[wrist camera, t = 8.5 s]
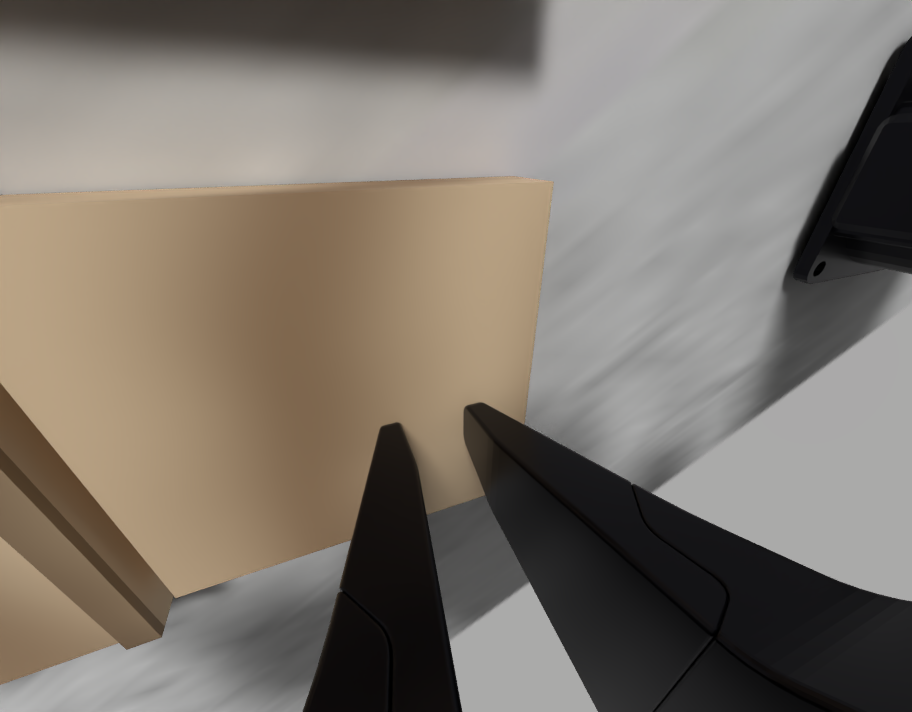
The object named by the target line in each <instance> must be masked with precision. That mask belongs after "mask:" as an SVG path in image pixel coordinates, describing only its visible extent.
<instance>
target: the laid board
mask: <svg viewBox="0 0 912 712" xmlns="http://www.w3.org/2000/svg"><path fill="white" fill-rule="evenodd" d="M173 596H174V595H173V594H172V593H171V592H170V591H169V589H168V588H167V587H166V586H165V584H164V583H163V582H162V581H161V580H160V578H159V577H158V576H157V575H156V573H155V572H154V571H153V570H152V568H151V567H150V566H149V565H148V564H147V562H146V561H145V560H144V559H143V557H142V556H141V555H140V554H139V552H138V551H137V550H136V549H135V548H134V546H133V545H132V544H131V543H130V541H129V540H128V539H127V538H126V537H125V535H124V534H123V533H122V532H121V530H120V529H119V528H118V527H117V525H116V524H115V523H114V522H113V521H112V519H111V518H110V517H109V516H108V514H107V513H106V512H105V511H104V509H103V508H102V507H101V506H100V505H99V503H98V502H97V501H96V500H95V498H94V497H93V496H92V495H91V494H90V492H89V491H88V490H87V489H86V487H85V486H84V485H83V484H82V482H81V481H80V480H79V479H78V478H77V476H76V475H75V474H74V473H73V471H72V470H71V469H70V468H69V466H68V465H67V464H66V463H65V462H64V460H63V459H62V458H61V457H60V455H59V454H58V453H57V452H56V451H55V449H54V448H53V447H52V446H51V444H50V443H49V442H48V441H47V439H46V438H45V437H44V436H43V435H42V433H41V432H40V431H39V430H38V428H37V427H36V426H35V425H34V424H33V422H32V421H31V420H30V419H29V417H28V416H27V415H26V414H25V412H24V411H23V410H22V409H21V408H20V406H19V405H18V404H17V403H16V401H15V400H14V399H13V398H12V396H11V395H10V394H9V393H8V392H7V390H6V389H5V388H4V387H3V385H2V384H1V383H0V685H1V684H4V683H7V682H9V681H12V680H15V679H18V678H21V677H24V676H26V675H29V674H32V673H35V672H38V671H41V670H43V669H46V668H49V667H52V666H55V665H58V664H60V663H63V662H66V661H69V660H72V659H75V658H77V657H80V656H83V655H86V654H89V653H92V652H94V651H97V650H100V649H103V648H106V647H109V646H111V645H114V644H117V643H120V644H121V645H122V646H123V647H124V648H125V649H130V648H133V647H136V646H139V645H141V644H144V643H147V642H150V641H152V640H155V639H158V638H161V637H162V635H163V631H164V628H165V624H166V621H167V617H168V613H169V610H170V606H171V603H172V599H173Z"/></svg>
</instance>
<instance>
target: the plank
mask: <svg viewBox="0 0 912 712" xmlns="http://www.w3.org/2000/svg"><path fill="white" fill-rule="evenodd" d="M553 183H554V182H552V181H545V180H537V179H530V178H523V177H515V176H506V177H479V178H451V179H424V180H397V181H370V182H343V183H316V184H288V185H261V186H234V187H207V188H180V189H153V190H125V191H98V192H71V193H44V194H17V195H0V383H1V384H2V385H3V387H4V388H5V389H6V390H7V392H8V393H9V394H10V395H11V396H12V398H13V399H14V400H15V401H16V403H17V404H18V405H19V406H20V408H21V409H22V410H23V411H24V412H25V414H26V415H27V416H28V417H29V419H30V420H31V421H32V422H33V424H34V425H35V426H36V427H37V428H38V430H39V431H40V432H41V433H42V435H43V436H44V437H45V438H46V439H47V441H48V442H49V443H50V444H51V446H52V447H53V448H54V449H55V451H56V452H57V453H58V454H59V455H60V457H61V458H62V459H63V460H64V462H65V463H66V464H67V465H68V466H69V468H70V469H71V470H72V471H73V473H74V474H75V475H76V476H77V478H78V479H79V480H80V481H81V482H82V484H83V485H84V486H85V487H86V489H87V490H88V491H89V492H90V494H91V495H92V496H93V497H94V498H95V500H96V501H97V502H98V503H99V505H100V506H101V507H102V508H103V509H104V511H105V512H106V513H107V514H108V516H109V517H110V518H111V519H112V521H113V522H114V523H115V524H116V525H117V527H118V528H119V529H120V530H121V532H122V533H123V534H124V535H125V537H126V538H127V539H128V540H129V541H130V543H131V544H132V545H133V546H134V548H135V549H136V550H137V551H138V552H139V554H140V555H141V556H142V557H143V559H144V560H145V561H146V562H147V564H148V565H149V566H150V567H151V568H152V570H153V571H154V572H155V573H156V575H157V576H158V577H159V578H160V580H161V581H162V582H163V583H164V584H165V586H166V587H167V588H168V589H169V591H170V592H171V593H172V594H173V595H174V597H175V598H178V597H181V596H184V595H187V594H190V593H193V592H196V591H199V590H202V589H205V588H208V587H211V586H214V585H217V584H220V583H223V582H226V581H229V580H232V579H235V578H238V577H241V576H244V575H247V574H250V573H253V572H256V571H259V570H262V569H265V568H268V567H271V566H274V565H277V564H280V563H283V562H286V561H289V560H292V559H295V558H298V557H301V556H304V555H307V554H310V553H313V552H316V551H319V550H322V549H325V548H328V547H331V546H334V545H337V544H340V543H343V542H346V541H349V540H351V539H352V536H353V532H354V528H355V524H356V520H357V516H358V512H359V508H360V504H361V500H362V496H363V492H364V488H365V484H366V480H367V476H368V473H369V469H370V465H371V461H372V457H373V453H374V449H375V445H376V441H377V437H378V433H379V429H380V427H381V426H383V425H387V424H391V423H395V422H399V423H400V424H401V425H402V428H403V430H404V433H405V435H406V437H407V440H408V442H409V445H410V447H411V450H412V452H413V454H414V457H415V460H416V462H417V466H418V470H419V475H420V481H421V486H422V492H423V497H424V503H425V509H426V514H427V515H428V514H431V513H434V512H437V511H440V510H443V509H446V508H449V507H452V506H455V505H458V504H461V503H464V502H467V501H470V500H473V499H476V498H479V497H482V496H485V493H484V490H483V488H482V485H481V483H480V480H479V478H478V475H477V472H476V470H475V467H474V465H473V462H472V460H471V457H470V455H469V452H468V449H467V447H466V444H465V441H464V435H463V412H464V407H465V406H467V405H470V404H474V403H478V402H483V403H485V404H487V405H489V406H491V407H493V408H495V409H496V410H498V411H500V412H502V413H504V414H506V415H507V416H509V417H511V418H513V419H515V420H517V421H519V422H520V423H522V424H524V422H525V414H526V406H527V398H528V389H529V381H530V373H531V365H532V356H533V348H534V340H535V331H536V323H537V315H538V307H539V298H540V290H541V282H542V274H543V265H544V257H545V249H546V241H547V232H548V224H549V216H550V208H551V199H552V191H553Z"/></svg>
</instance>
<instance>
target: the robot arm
mask: <svg viewBox="0 0 912 712" xmlns="http://www.w3.org/2000/svg"><path fill="white" fill-rule="evenodd" d="M884 269H889V270H894V271H899V272H904V273H909V274H912V37H911V38H910V39H909V40H908V42H907V43H906V45H905V47H904V49H903V50H902V52H901V54H900V56H899V58H898V60H897V62H896V64H895V66H894V68H893V70H892V72H891V75H890V77H889V79H888V81H887V83H886V85H885V87H884V89H883V91H882V93H881V95H880V97H879V99H878V101H877V103H876V105H875V107H874V109H873V111H872V113H871V115H870V117H869V119H868V121H867V123H866V125H865V127H864V129H863V131H862V133H861V136H860V138H859V140H858V142H857V144H856V146H855V148H854V150H853V152H852V154H851V156H850V158H849V160H848V162H847V164H846V166H845V168H844V170H843V172H842V174H841V176H840V178H839V180H838V182H837V184H836V186H835V188H834V190H833V192H832V195H831V197H830V199H829V201H828V203H827V205H826V207H825V209H824V211H823V213H822V215H821V217H820V219H819V221H818V223H817V225H816V227H815V229H814V231H813V233H812V235H811V237H810V239H809V241H808V243H807V245H806V247H805V249H804V251H803V253H802V256H801V258H800V260H799V262H798V264H797V266H796V268H795V271H794V276H793V277H794V279H795V280H798V281H802V282H805V283H810V284H813V283H818V282H823V281H828V280H833V279H838V278H843V277H848V276H853V275H858V274H863V273H869V272H874V271H879V270H884ZM463 435H464V441H465V444H466V447H467V449H468V452H469V455H470V457H471V460H472V462H473V465H474V467H475V470H476V472H477V475H478V478H479V480H480V483H481V485H482V488H483V490H484V493H485V496H486V498H487V500H488V503H489V505H490V507H491V509H492V511H493V513H494V515H495V517H496V519H497V521H498V523H499V525H500V527H501V529H502V530H503V532H504V534H505V536H506V538H507V540H508V542H509V544H510V546H511V548H512V549H513V551H514V553H515V555H516V557H517V559H518V561H519V563H520V565H521V567H522V568H523V570H524V572H525V574H526V576H527V578H528V580H529V582H530V584H531V585H532V587H533V589H534V591H535V593H536V595H537V597H538V599H539V601H540V602H541V604H542V606H543V608H544V610H545V612H546V614H547V616H548V618H549V620H550V621H551V623H552V625H553V627H554V629H555V631H556V633H557V635H558V637H559V638H560V640H561V642H562V644H563V646H564V648H565V650H566V652H567V654H568V656H569V657H570V659H571V661H572V663H573V665H574V667H575V669H576V671H577V673H578V674H579V676H580V678H581V680H582V682H583V684H584V686H585V688H586V690H587V692H588V694H589V695H590V697H591V699H592V701H593V703H594V705H595V707H596V709H597V711H598V712H912V601H906V600H900V599H896V598H892V597H888V596H884V595H879V594H876V593H873V592H869V591H866V590H862V589H859V588H856V587H854V586H851V585H848V584H845V583H843V582H839V581H837V580H835V579H833V578H830V577H828V576H825V575H823V574H821V573H819V572H816V571H814V570H812V569H810V568H808V567H806V566H803V565H801V564H799V563H797V562H795V561H792V560H790V559H788V558H786V557H784V556H781V555H779V554H777V553H775V552H773V551H770V550H768V549H766V548H764V547H762V546H760V545H757V544H755V543H753V542H751V541H749V540H746V539H744V538H742V537H739V536H738V535H735V534H733V533H731V532H729V531H727V530H724V529H722V528H720V527H718V526H716V525H714V524H711V523H709V522H708V521H706V520H703V519H701V518H699V517H697V516H695V515H693V514H691V513H689V512H687V511H685V510H683V509H681V508H679V507H677V506H675V505H673V504H671V503H669V502H667V501H665V500H663V499H662V498H659V497H658V496H656V495H654V494H652V493H650V492H648V491H646V490H645V489H643V488H641V487H639V486H637V485H635V484H632V485H631V483H630V482H629V481H628V480H626V479H624V478H622V477H620V476H618V475H617V474H615V473H613V472H611V471H609V470H607V469H605V468H604V467H602V466H600V465H598V464H596V463H594V462H593V461H591V460H589V459H587V458H585V457H583V456H581V455H580V454H578V453H576V452H574V451H572V450H570V449H568V448H567V447H565V446H563V445H561V444H559V443H557V442H556V441H554V440H552V439H550V438H548V437H546V436H544V435H543V434H541V433H539V432H537V431H535V430H533V429H531V428H530V427H528V426H526V425H524V424H522V423H520V422H519V421H517V420H515V419H513V418H511V417H509V416H507V415H506V414H504V413H502V412H500V411H498V410H496V409H495V408H493V407H491V406H489V405H487V404H485V403H483V402H478V403H474V404H470V405H467V406H465V407H464V412H463ZM339 589H340V592H339V593H338V594H337V597H336V601H335V605H334V609H333V613H332V617H331V621H330V625H329V628H328V632H327V635H326V639H325V642H324V646H323V649H322V653H321V656H320V660H319V663H318V667H317V670H316V673H315V676H314V679H313V682H312V685H311V688H310V691H309V694H308V697H307V700H306V703H305V706H304V709H303V712H462V708H461V703H460V697H459V692H458V686H457V680H456V675H455V669H454V664H453V658H452V653H451V648H450V641H449V636H448V630H447V625H446V619H445V614H444V608H443V603H442V597H441V592H440V586H439V581H438V575H437V569H436V564H435V558H434V553H433V547H432V542H431V536H430V531H429V525H428V520H427V514H426V509H425V503H424V497H423V492H422V486H421V481H420V475H419V470H418V466H417V462H416V460H415V457H414V454H413V452H412V450H411V447H410V445H409V442H408V440H407V437H406V435H405V433H404V430H403V428H402V425H401V424H400V423H399V422H395V423H391V424H387V425H383V426H381V427H380V429H379V433H378V437H377V441H376V445H375V449H374V453H373V457H372V461H371V465H370V469H369V473H368V476H367V480H366V484H365V488H364V492H363V496H362V500H361V504H360V508H359V512H358V516H357V520H356V524H355V528H354V532H353V536H352V539H351V543H350V547H349V551H348V555H347V559H346V563H345V567H344V571H343V575H342V579H341V583H340V587H339Z"/></svg>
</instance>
